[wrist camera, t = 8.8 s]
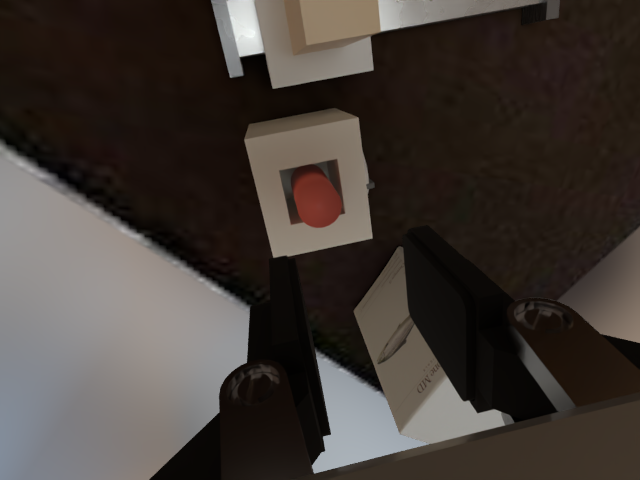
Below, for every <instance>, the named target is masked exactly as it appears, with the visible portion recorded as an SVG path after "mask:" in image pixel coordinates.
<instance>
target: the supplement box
mask: <svg viewBox="0 0 640 480" xmlns="http://www.w3.org/2000/svg"><path fill="white" fill-rule="evenodd" d="M354 314H355V317H356V319H357V322H358V325H359V327H360V330H361V333H362V335H363V338H364V341H365V343H366V346H367V348H368V351H369V354H370V356H371V359H372V361H373V364H374V367H375V369H376V372H377V375H378V377H379V380H380V383H381V386H382V388H383V391H384V393H385V396H386V398H387V401H388V404H389V407H390V409H391V412H392V414H393V417H394V419H395V422H396V425H397V428H398V430H399V433H400V434H401V435H405V436H408V437H411V438H414V439H416V440H420V441H423V442H426V443H429V444H433V443H437V442H441V441H445V440H449V439H453V438H456V437H460V436H464V435H468V434H472V433H476V432H480V431H484V430H488V429H492V428H496V427H500V426H504V425H505V424H504V421H503V419H502V416H501V412H500V411H498V410H495V409H494V410H489V411H485V412H481V413H477V412H476V411H475V409H474V408H473V406H472V405H471V403H470V401H463V400H462V399H461V398H460V396H459V395H458V393H457V392H456V390H455V388H454V387H453V385H452V383H451V382H450V380H449V379H448V377H447V375H446V374H445V372H444V371H443V369H442V367H441V366H440V364H439V362H438V361H437V359H436V358H435V356H434V354H433V353H432V351H431V350H430V348H429V346H428V345H427V343H426V341H425V340H424V338H423V337H422V335H421V333H420V332H419V330H418V329H417V327H416V325H415V324H414V322H413V320H412V319H411V317H410V314H409V310H408V302H407V290H406V277H405V265H404V253H403V247H400V246H399V247H398V248H397V249H396V251H395V253H394V254H393V256H392V257H391V259H390V261H389V262H388V264H387V265H386V267H385V268H384V270H383V271H382V273H381V274H380V275H379V277H378V278H377V280H376V281H375V282H374V284H373V285H372V287H371V288H370V289H369V291H368V292H367V294H366V295H365V296H364V298H363V299H362V300H361V302H360V303H359V304H358V306H357V307H356V308H355V310H354Z"/></svg>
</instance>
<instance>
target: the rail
mask: <svg viewBox="0 0 640 480" xmlns="http://www.w3.org/2000/svg"><path fill="white" fill-rule="evenodd" d="M211 2H212V6H213V10H214V14H215V18H216V23H217V27H218V31H219V35H220V39H221V43H222V47H223V51H224V55H225V59H226V63H227V67H228V71H229V75H230V78H235V77H240V76H245V72H244V68H243V63H242V58H248V57H253V56H259V55H264V54H265V50H264V45H263V40H262V35H261V30H260V25H259V21H258V16H257V11H256V6H255V1H254V0H211ZM559 3H560V0H378V4H379V16H380V27H381V32H380V33H377V34H381V33H386V32H392V31H397V30H403V29H409V28H414V27H420V26H425V25H431V24H436V23H442V22H447V21H453V20H459V19H464V18H470V17H475V16H481V15H486V14H492V13H497V12H503V11H508V10H514V9H520V8H522V25H524V24H530V23H535V22H540V21H544V20H549V19H554V18H558V14H559Z"/></svg>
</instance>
